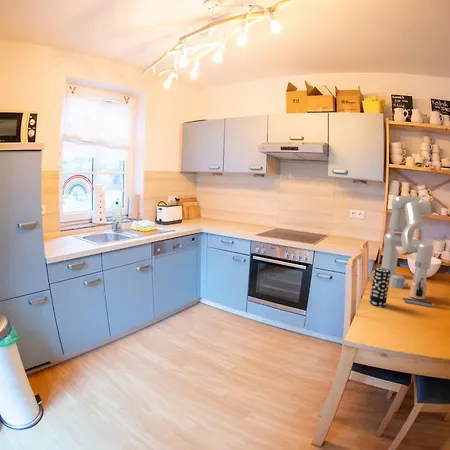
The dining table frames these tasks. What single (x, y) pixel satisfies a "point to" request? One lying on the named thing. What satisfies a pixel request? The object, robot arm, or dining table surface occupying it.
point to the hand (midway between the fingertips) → (417, 293)
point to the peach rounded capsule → (413, 291)
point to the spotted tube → (379, 287)
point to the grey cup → (397, 281)
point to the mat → (418, 302)
